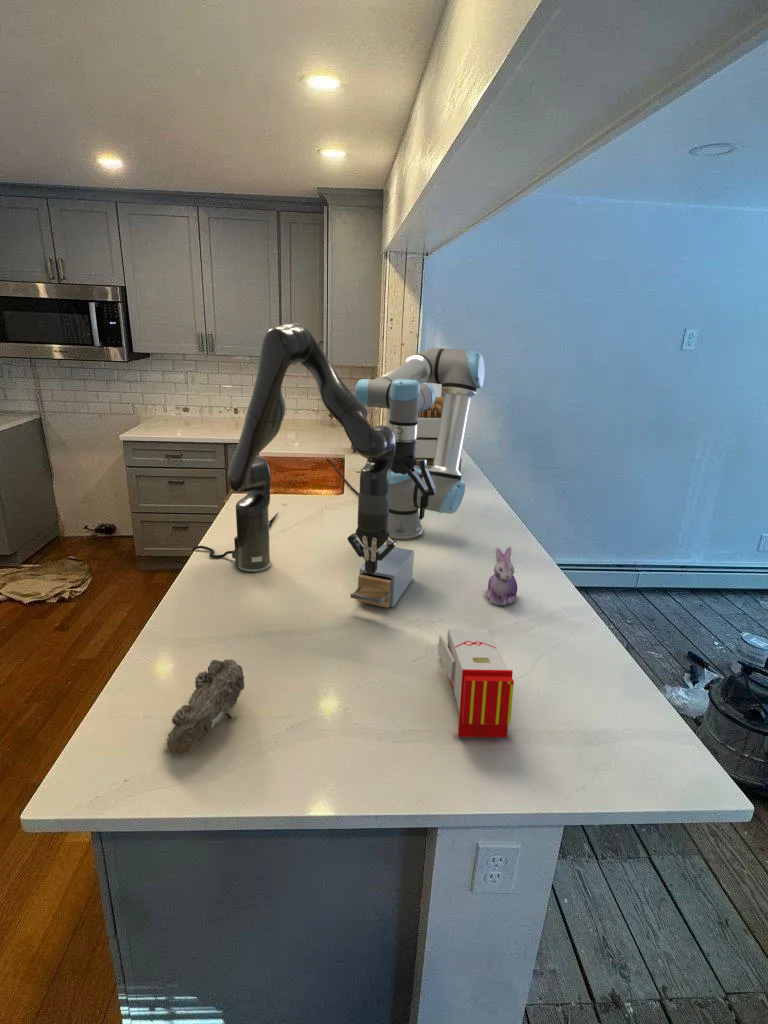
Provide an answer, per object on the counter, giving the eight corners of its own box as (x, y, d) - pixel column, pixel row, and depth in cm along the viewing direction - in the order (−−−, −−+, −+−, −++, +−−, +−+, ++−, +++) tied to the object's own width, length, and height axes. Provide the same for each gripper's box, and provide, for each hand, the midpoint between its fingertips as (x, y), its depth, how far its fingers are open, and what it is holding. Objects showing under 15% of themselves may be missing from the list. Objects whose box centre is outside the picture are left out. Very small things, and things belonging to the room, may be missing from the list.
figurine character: (362, 456, 306) (363, 447, 319) (363, 443, 302) (363, 434, 316) (350, 456, 306) (351, 446, 319) (350, 442, 302) (351, 433, 316)
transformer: (382, 463, 289) (386, 382, 275) (445, 464, 293) (451, 384, 279) (390, 482, 257) (394, 392, 243) (460, 483, 261) (468, 394, 247)
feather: (285, 507, 224) (287, 503, 224) (267, 531, 198) (270, 526, 197) (281, 504, 224) (284, 500, 223) (263, 528, 197) (265, 524, 197)
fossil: (192, 660, 117) (244, 628, 112) (224, 691, 120) (276, 661, 115) (142, 746, 98) (202, 712, 93) (182, 779, 101) (242, 748, 96)
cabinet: (392, 607, 151) (394, 575, 147) (358, 600, 154) (359, 569, 150) (412, 579, 167) (414, 550, 163) (380, 573, 169) (381, 544, 166)
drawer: (381, 617, 144) (383, 590, 141) (350, 610, 146) (350, 584, 144) (406, 581, 163) (408, 557, 161) (378, 575, 166) (379, 552, 163)
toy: (488, 613, 130) (523, 677, 101) (484, 667, 133) (517, 744, 104) (435, 612, 130) (455, 676, 101) (432, 666, 133) (451, 743, 103)
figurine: (499, 610, 151) (506, 558, 146) (476, 593, 160) (482, 544, 155) (527, 603, 156) (534, 553, 151) (503, 587, 164) (509, 539, 159)
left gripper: (342, 509, 137) (341, 574, 142) (394, 517, 133) (390, 584, 139) (353, 500, 143) (352, 562, 149) (403, 508, 139) (400, 571, 145)
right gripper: (353, 436, 151) (351, 511, 158) (445, 447, 144) (438, 525, 151) (363, 431, 158) (360, 504, 165) (451, 441, 151) (444, 516, 158)
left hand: (370, 572), depth 144 cm, fingers closed
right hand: (398, 514), depth 158 cm, fingers open, 13 cm apart
